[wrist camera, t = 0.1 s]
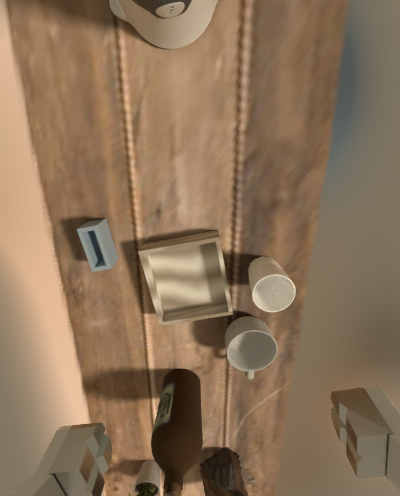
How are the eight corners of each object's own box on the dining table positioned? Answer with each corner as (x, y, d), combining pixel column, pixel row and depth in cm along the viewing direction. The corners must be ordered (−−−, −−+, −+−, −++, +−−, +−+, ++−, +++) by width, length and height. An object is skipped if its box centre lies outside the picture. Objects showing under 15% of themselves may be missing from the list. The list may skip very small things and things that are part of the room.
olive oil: (210, 377, 72) (214, 491, 49) (189, 403, 75) (182, 522, 52) (174, 360, 70) (160, 470, 47) (154, 387, 74) (131, 502, 50)
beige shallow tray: (142, 243, 59) (138, 251, 55) (218, 230, 58) (219, 237, 54) (162, 313, 65) (159, 325, 61) (231, 303, 64) (233, 314, 60)
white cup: (242, 285, 63) (249, 310, 53) (247, 252, 60) (255, 273, 50) (278, 287, 63) (291, 313, 53) (284, 254, 60) (299, 276, 50)
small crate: (86, 221, 58) (76, 229, 53) (105, 218, 57) (96, 225, 53) (100, 261, 61) (92, 271, 56) (118, 258, 61) (111, 268, 56)
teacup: (228, 306, 65) (232, 328, 57) (275, 313, 65) (284, 335, 58) (217, 354, 69) (219, 380, 62) (260, 360, 70) (267, 386, 63)
